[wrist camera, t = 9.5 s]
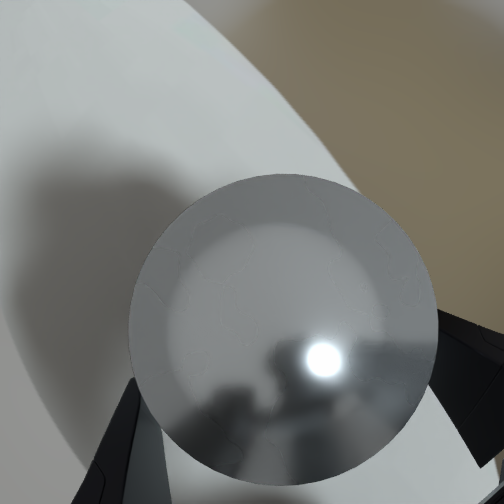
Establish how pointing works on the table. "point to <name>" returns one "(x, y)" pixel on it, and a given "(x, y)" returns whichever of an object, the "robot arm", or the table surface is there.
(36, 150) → the table surface
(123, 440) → the robot arm
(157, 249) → the grey cup
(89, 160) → the table surface
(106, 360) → the table surface
